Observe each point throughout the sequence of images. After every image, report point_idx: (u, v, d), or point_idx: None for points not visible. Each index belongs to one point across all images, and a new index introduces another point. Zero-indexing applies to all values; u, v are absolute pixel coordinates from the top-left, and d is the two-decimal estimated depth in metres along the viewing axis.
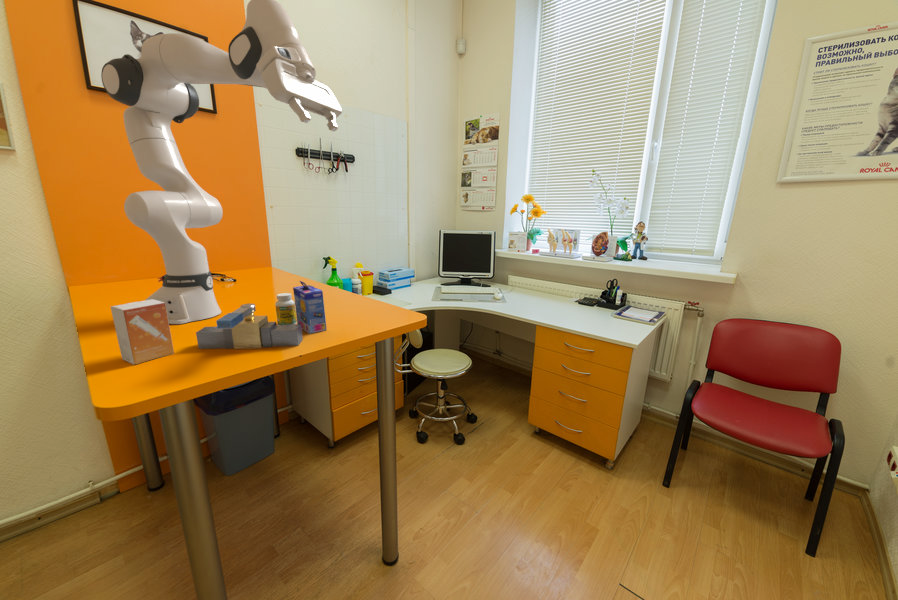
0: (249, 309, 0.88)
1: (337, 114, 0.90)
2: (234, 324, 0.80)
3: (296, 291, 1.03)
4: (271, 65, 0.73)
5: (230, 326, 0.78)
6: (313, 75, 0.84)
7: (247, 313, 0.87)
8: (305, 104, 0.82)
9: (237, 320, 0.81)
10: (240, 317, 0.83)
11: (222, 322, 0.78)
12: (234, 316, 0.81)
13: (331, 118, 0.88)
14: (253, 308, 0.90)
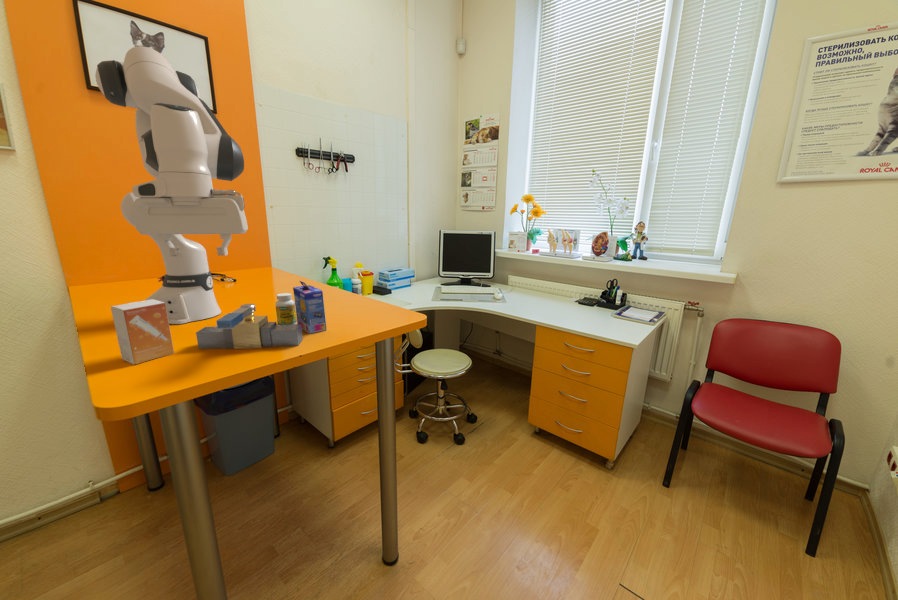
0: (249, 309, 0.88)
1: (237, 233, 0.77)
2: (234, 324, 0.80)
3: (296, 291, 1.03)
4: None
5: (230, 326, 0.78)
6: (200, 197, 0.72)
7: (247, 313, 0.87)
8: None
9: (237, 320, 0.81)
10: (240, 317, 0.83)
11: (222, 322, 0.78)
12: (234, 316, 0.81)
13: None
14: (253, 308, 0.90)
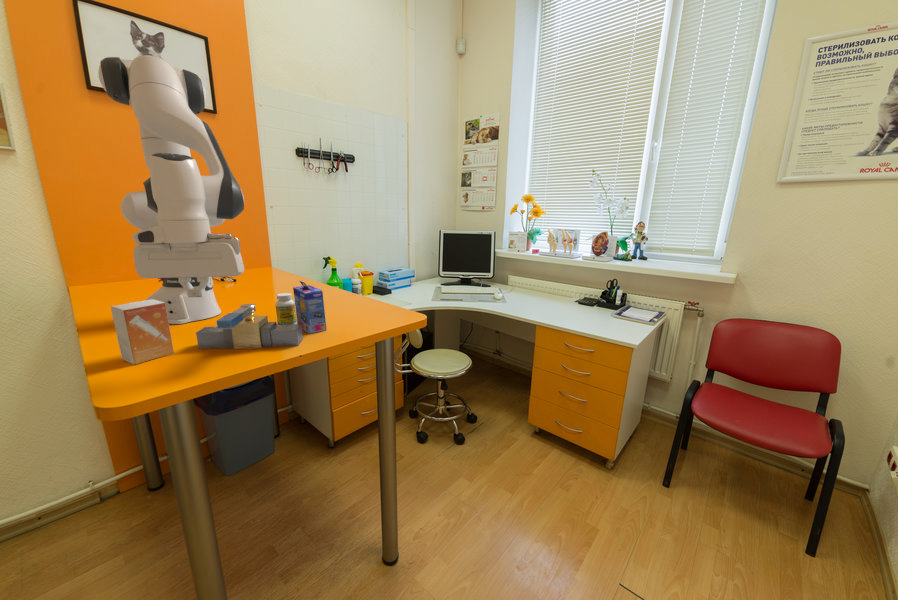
0: (249, 309, 0.88)
1: None
2: (234, 324, 0.80)
3: (296, 291, 1.03)
4: None
5: (230, 326, 0.78)
6: (197, 242, 0.74)
7: (247, 313, 0.87)
8: None
9: (237, 320, 0.81)
10: (240, 317, 0.83)
11: (222, 322, 0.78)
12: (234, 316, 0.81)
13: None
14: (253, 308, 0.90)
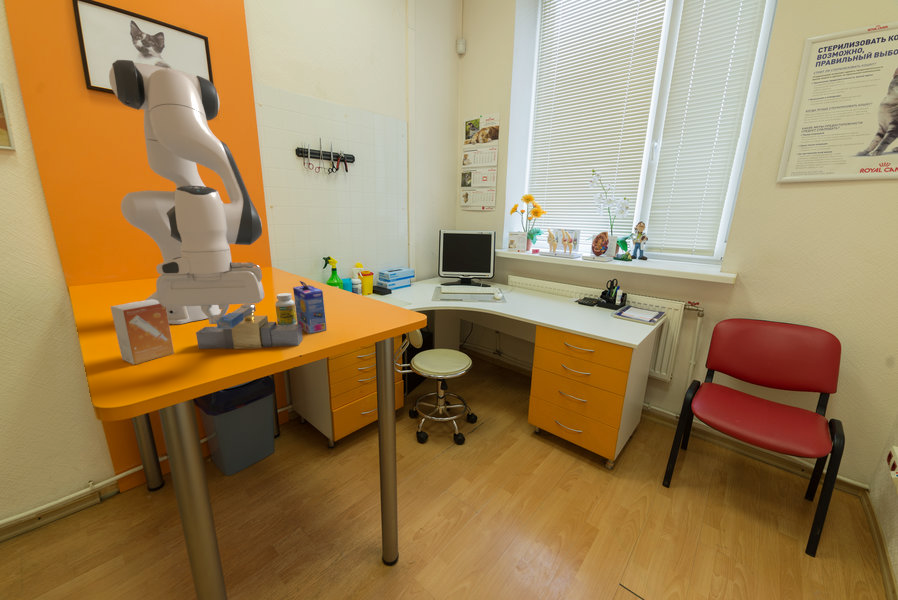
0: (249, 309, 0.88)
1: None
2: (234, 324, 0.80)
3: (296, 291, 1.03)
4: None
5: (230, 326, 0.78)
6: (221, 272, 0.76)
7: (247, 313, 0.87)
8: None
9: (237, 320, 0.81)
10: (240, 317, 0.83)
11: (222, 322, 0.78)
12: (234, 316, 0.81)
13: None
14: (253, 308, 0.90)
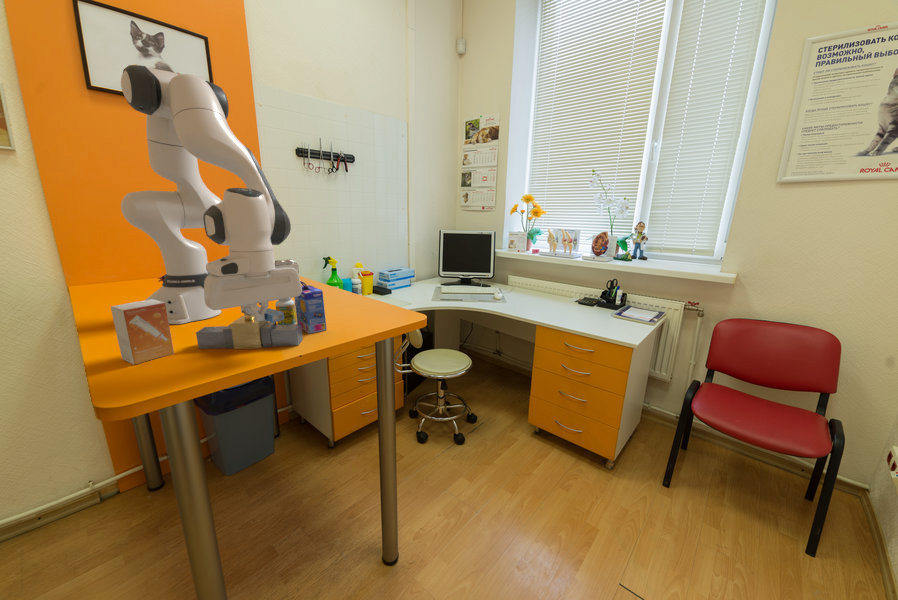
0: None
1: None
2: None
3: None
4: (209, 283, 0.73)
5: (283, 318, 0.85)
6: (271, 269, 0.81)
7: None
8: None
9: None
10: None
11: (276, 316, 0.83)
12: (274, 310, 0.86)
13: (262, 307, 0.83)
14: None
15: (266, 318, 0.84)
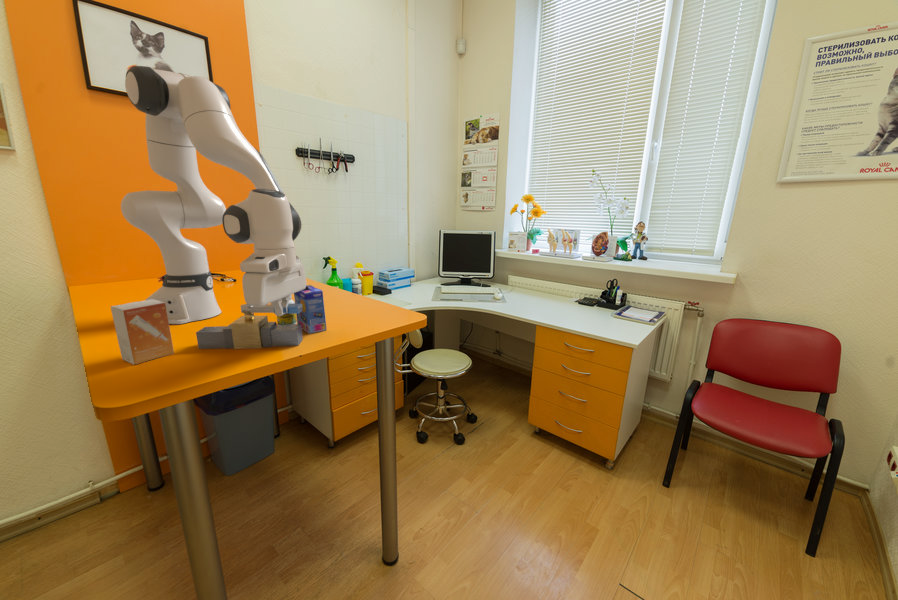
0: None
1: None
2: None
3: None
4: (256, 280, 0.76)
5: (301, 309, 0.92)
6: None
7: None
8: None
9: None
10: None
11: (299, 307, 0.91)
12: (289, 304, 0.92)
13: (284, 301, 0.89)
14: None
15: (288, 311, 0.90)
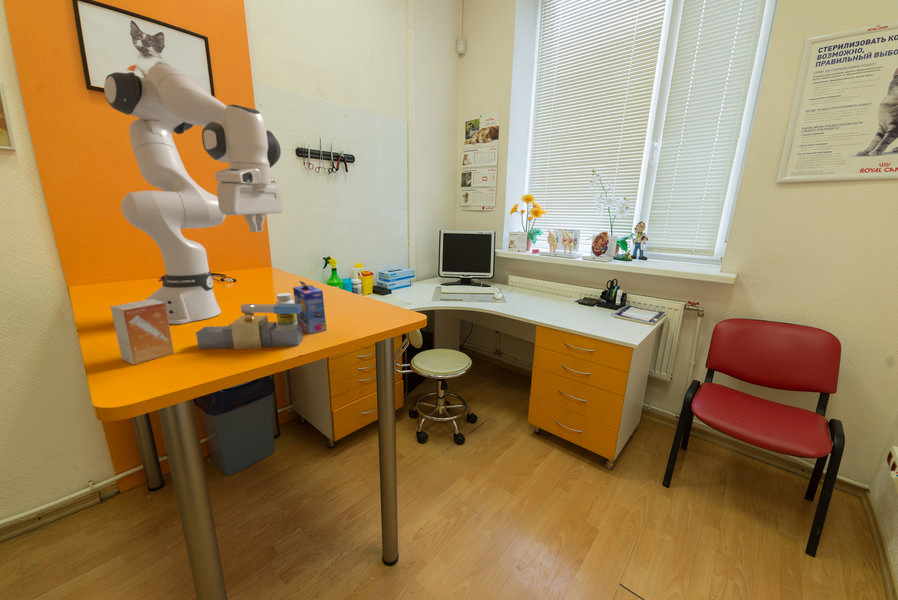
0: None
1: None
2: None
3: (296, 291, 1.03)
4: (230, 189, 0.81)
5: (301, 309, 0.92)
6: (267, 184, 0.93)
7: None
8: None
9: None
10: None
11: (299, 307, 0.91)
12: (289, 304, 0.92)
13: (259, 219, 0.94)
14: None
15: (288, 311, 0.90)
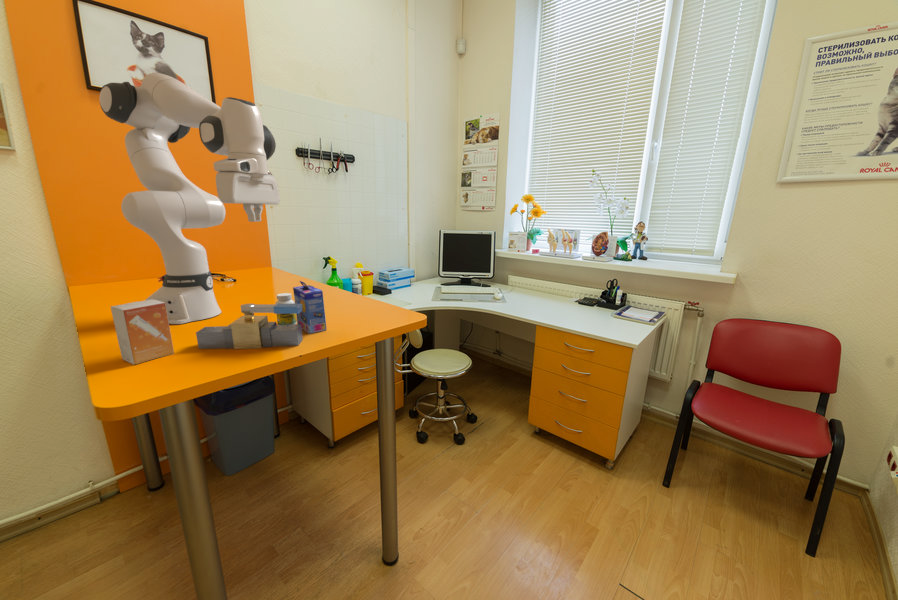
0: None
1: (274, 204, 1.02)
2: None
3: (296, 291, 1.03)
4: (228, 177, 0.84)
5: (301, 309, 0.92)
6: (264, 175, 0.95)
7: None
8: None
9: None
10: None
11: (299, 307, 0.91)
12: (289, 304, 0.92)
13: (257, 210, 0.96)
14: None
15: (288, 311, 0.90)
